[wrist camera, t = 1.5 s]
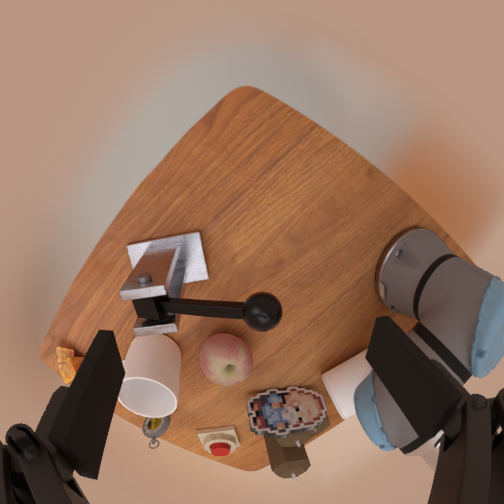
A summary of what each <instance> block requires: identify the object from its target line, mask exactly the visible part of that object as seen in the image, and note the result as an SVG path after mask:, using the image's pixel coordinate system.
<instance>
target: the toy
mask: <svg viewBox="0 0 504 504" xmlns="http://www.w3.org/2000/svg"><path fill="white" fill-rule="evenodd" d="M246 407H247V412H248V416H249V424H250V430H251V432H255V434H256V435H263V434H266V435H267V436H268V437H272V436H274V437H275V438H276V439H280V438H286V437H288V434H293V433H299V432H304V431H309V430H314V429H315V428H316V427H317V426H319V425H321V424H322V422H323V421H324V419H325V418H326V412H327V407H326V405H325V402H324V399H323V397H322V395H321V394H318V393H317V392H313V390H307V391H306V389H305V388H300V389H299V388H298V387H297V386H295V387H288V388H287V390H285V391H278V389H270V390H266V393H258V394H257V396H256V397H251V398H250V400H248V401H247V406H246Z"/></svg>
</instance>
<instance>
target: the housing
mask: <svg viewBox="0 0 504 504" xmlns="http://www.w3.org/2000/svg"><path fill="white" fill-rule="evenodd" d="M197 435H198V437H199V438H200V440H201V442H202V444H203V447H204V449H205V451H207V452H209V453H211V444H213V443H217V442H224V443H227V444H229V447H230V452H233V451H234V450H235V449H236V448H237V447H241V445H240V441H239V438H238V436H237V433H236V430H235V427H234V425H233V426H226V427H218V428H210V429H200V430H197Z"/></svg>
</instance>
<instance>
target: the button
mask: <svg viewBox="0 0 504 504" xmlns="http://www.w3.org/2000/svg"><path fill="white" fill-rule="evenodd" d="M211 453H212V454H213V455H215V456H226V455H228V454H229V453H230V447H229V444H227V443H224V442H217V443H213V444H211Z"/></svg>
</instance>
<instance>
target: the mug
mask: <svg viewBox="0 0 504 504" xmlns="http://www.w3.org/2000/svg"><path fill="white" fill-rule="evenodd" d="M122 363H123V367H124V370H125V377H124V380H123V383H122V386H121V389H120V393H119V396H118V400H119V401H120V403H121V404H122V405H123V406H124V407H126V408H127V409H128V410H130V411H132V412H134V413H136V414H138V415H141V416H145V417H152V418H159V417H164V416H167V415H170V414H171V413H173V412H174V411H175V409H176V408H177V404H178V392H179V380H180V370H181V352H180V349H179V347H178V345H177V344H176V343H175V342H174V341H173V340H172V339H171V338H169V337H168V336H166V335H164V334H156V335H148V336H139V337H135V338H134V340H133V341H132V342H131V345H130V347H129V350H128V353H127V355H126V358H125V360H123V361H122Z"/></svg>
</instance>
